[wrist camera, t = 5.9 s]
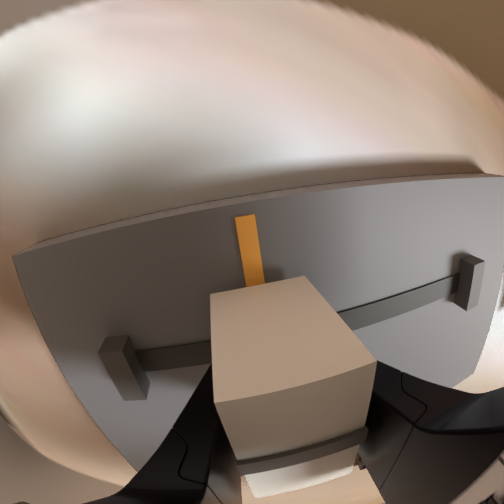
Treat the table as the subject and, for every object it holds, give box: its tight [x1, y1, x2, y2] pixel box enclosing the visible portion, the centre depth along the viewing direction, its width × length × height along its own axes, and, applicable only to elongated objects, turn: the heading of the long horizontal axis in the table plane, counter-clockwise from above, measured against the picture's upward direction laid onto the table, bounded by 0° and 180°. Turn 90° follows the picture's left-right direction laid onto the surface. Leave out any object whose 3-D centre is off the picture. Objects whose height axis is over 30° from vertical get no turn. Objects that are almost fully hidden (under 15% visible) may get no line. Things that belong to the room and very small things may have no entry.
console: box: [12, 173, 504, 471], centre depth 11 cm, size 24×14×4 cm, turn 99°
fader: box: [210, 276, 377, 498], centre depth 7 cm, size 3×5×5 cm, turn 9°
